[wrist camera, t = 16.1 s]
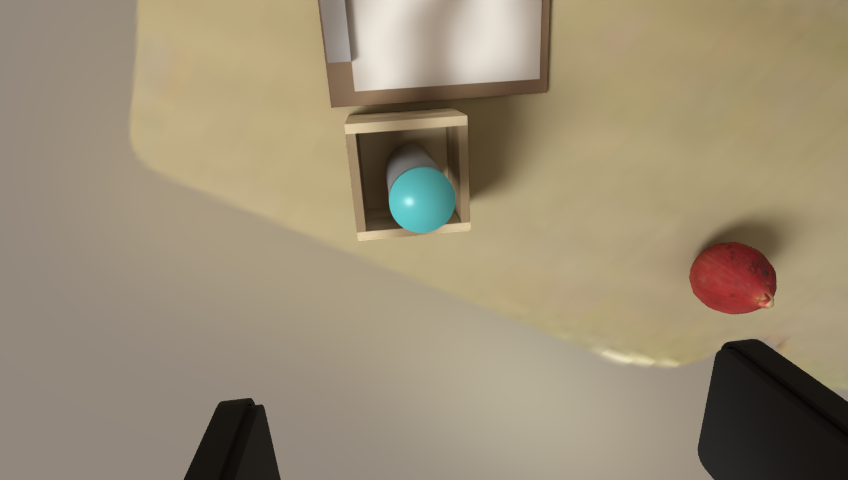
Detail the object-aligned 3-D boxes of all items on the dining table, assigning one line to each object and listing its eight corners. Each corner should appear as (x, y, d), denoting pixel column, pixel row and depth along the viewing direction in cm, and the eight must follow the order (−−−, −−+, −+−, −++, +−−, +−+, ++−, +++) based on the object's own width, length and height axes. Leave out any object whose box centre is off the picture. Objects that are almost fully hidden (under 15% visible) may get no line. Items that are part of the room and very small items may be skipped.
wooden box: (451, 107, 35) (467, 115, 29) (455, 206, 38) (470, 230, 32) (348, 115, 34) (344, 124, 29) (360, 214, 37) (357, 240, 31)
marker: (431, 138, 35) (454, 165, 25) (434, 186, 36) (456, 229, 26) (382, 142, 35) (386, 171, 25) (386, 190, 36) (391, 235, 26)
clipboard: (550, -97, 31) (557, -103, 30) (544, 92, 35) (550, 92, 34) (307, -88, 30) (304, -94, 29) (331, 107, 34) (330, 108, 33)
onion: (691, 222, 40) (764, 256, 33) (743, 241, 42) (825, 278, 34) (658, 280, 42) (720, 325, 35) (709, 296, 43) (780, 344, 36)
